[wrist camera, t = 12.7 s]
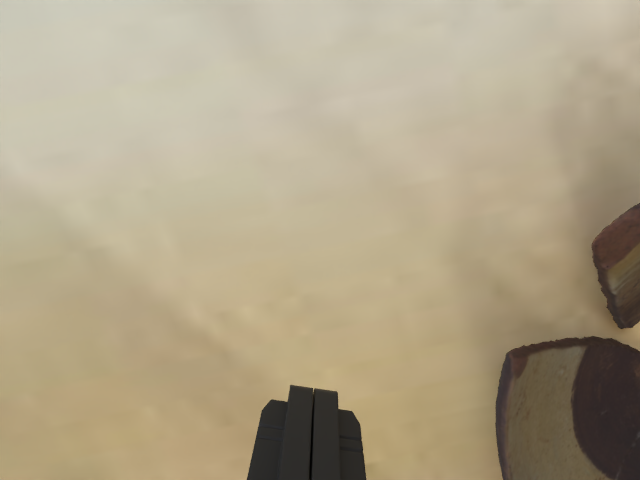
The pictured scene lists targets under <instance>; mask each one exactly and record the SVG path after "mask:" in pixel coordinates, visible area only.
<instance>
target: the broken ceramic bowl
mask: <svg viewBox="0 0 640 480" xmlns="http://www.w3.org/2000/svg"><path fill="white" fill-rule="evenodd" d="M592 250H593V261H594V264H595V267H596V268H597V269H598V281H599V282H600V284H601V285H602V288H601V291H602V292H603V294H604V296H606V298H607V303H608V304H607V307H606V308H608V310H609V311H610V313H611V314H612V316H613V320H614V321H615V323H617V325H618V327H619V328H621V329H623V328H633V326H634V325H635V324H637V323H638V322H639V321H640V203H639V204H637V205H635V206H634V207H632V208H631V209H629V210H628V211H627V212H625V213H624V214H622V215H621V216H619V218H617V219H616V220H614V221H613V222H612V223H611V224H610V225H608V226H607V227H606V228H604V229H603V230H602V232H601V233H600V234H599V235H598V236H597V237H596V238H595V240H594V241H593V243H592ZM496 436H497V446H498V453H499V454H498V456H499V462H500V466H501V471H502V476H503V480H640V352H639V351H638V350H636V349H634V348H632V347H630V346H629V345H624V344H622V343H620V342H618V341H617V340H614V339H612V338H610V339H602V338H599V337H594V336H593V337H584V338H582V339H579V338H565V339H561V340H556V341H555V342H554V341H549V342H542V343H539V344H531V345H529V346H524V345H523V346H522V347H520V348H515V349H513V350H511V351H510V352H508V353H507V354H506V358H505V361H504V364H503V368H502V371H501V377H500V380H499V387H498V395H497V400H496Z"/></svg>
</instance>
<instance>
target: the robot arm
mask: <svg viewBox="0 0 640 480" xmlns="http://www.w3.org/2000/svg"><path fill="white" fill-rule="evenodd" d="M361 439H362V437H361V428H360V423H359V422H358V420H357V419H356V417H355V415H354V414H353V412H352V411H347V410H340V409H338V393H337V392H336V391H329V390H322V389H316V388H315V389H314V392H313V388H308V387H301V386H294V385H290V391H289V397H288V402H285V401H278V400H270V402H269V403H268V404H267V405H266V406H265V407H264V409H263V410H262V413H261V417H260V422H259V427H258V431H257V436H256V440H255V445H254V450H253V454H252V459H251V463H250V468H249V473H248V477H247V480H366V473H365V464H364V455H363V446H362V441H361Z"/></svg>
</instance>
